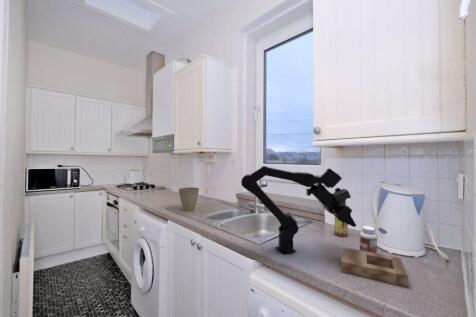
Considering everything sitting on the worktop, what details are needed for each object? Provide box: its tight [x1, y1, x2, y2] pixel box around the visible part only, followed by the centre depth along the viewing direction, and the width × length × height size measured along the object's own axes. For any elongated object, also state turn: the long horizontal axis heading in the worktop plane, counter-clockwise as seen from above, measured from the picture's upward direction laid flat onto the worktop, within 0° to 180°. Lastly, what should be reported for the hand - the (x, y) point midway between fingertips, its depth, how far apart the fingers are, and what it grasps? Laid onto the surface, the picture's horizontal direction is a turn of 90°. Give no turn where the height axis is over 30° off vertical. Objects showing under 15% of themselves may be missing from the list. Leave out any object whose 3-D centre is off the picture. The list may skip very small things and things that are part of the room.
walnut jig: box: [340, 246, 409, 288], centre depth 79 cm, size 19×14×4 cm
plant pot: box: [178, 186, 200, 212], centre depth 164 cm, size 15×15×16 cm
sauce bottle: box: [333, 199, 349, 237], centre depth 114 cm, size 7×6×20 cm
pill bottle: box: [359, 225, 378, 254], centre depth 92 cm, size 6×6×11 cm
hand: (350, 222), depth 92 cm, fingers open, 9 cm apart
